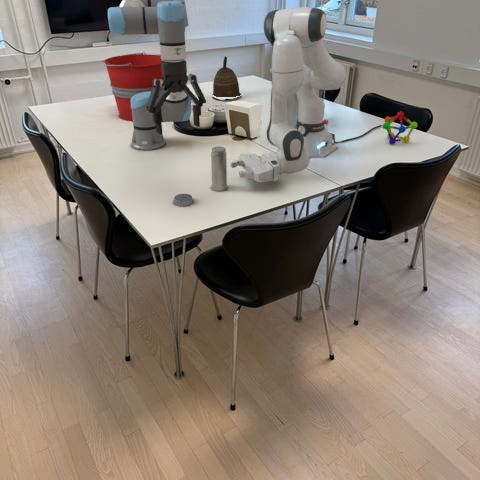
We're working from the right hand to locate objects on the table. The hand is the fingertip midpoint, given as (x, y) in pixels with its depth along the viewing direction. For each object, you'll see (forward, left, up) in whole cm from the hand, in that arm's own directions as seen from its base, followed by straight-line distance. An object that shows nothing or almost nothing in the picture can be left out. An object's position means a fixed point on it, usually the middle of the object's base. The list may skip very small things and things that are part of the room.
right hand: (235, 169), depth 166 cm
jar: (+6, -2, -6) cm, 9 cm away
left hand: (+23, -3, +20) cm, 30 cm away
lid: (+23, -3, -5) cm, 24 cm away
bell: (-89, -97, -6) cm, 132 cm away
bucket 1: (-29, -103, -6) cm, 108 cm away
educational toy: (-88, +20, -6) cm, 90 cm away
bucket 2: (-75, -30, -6) cm, 81 cm away
